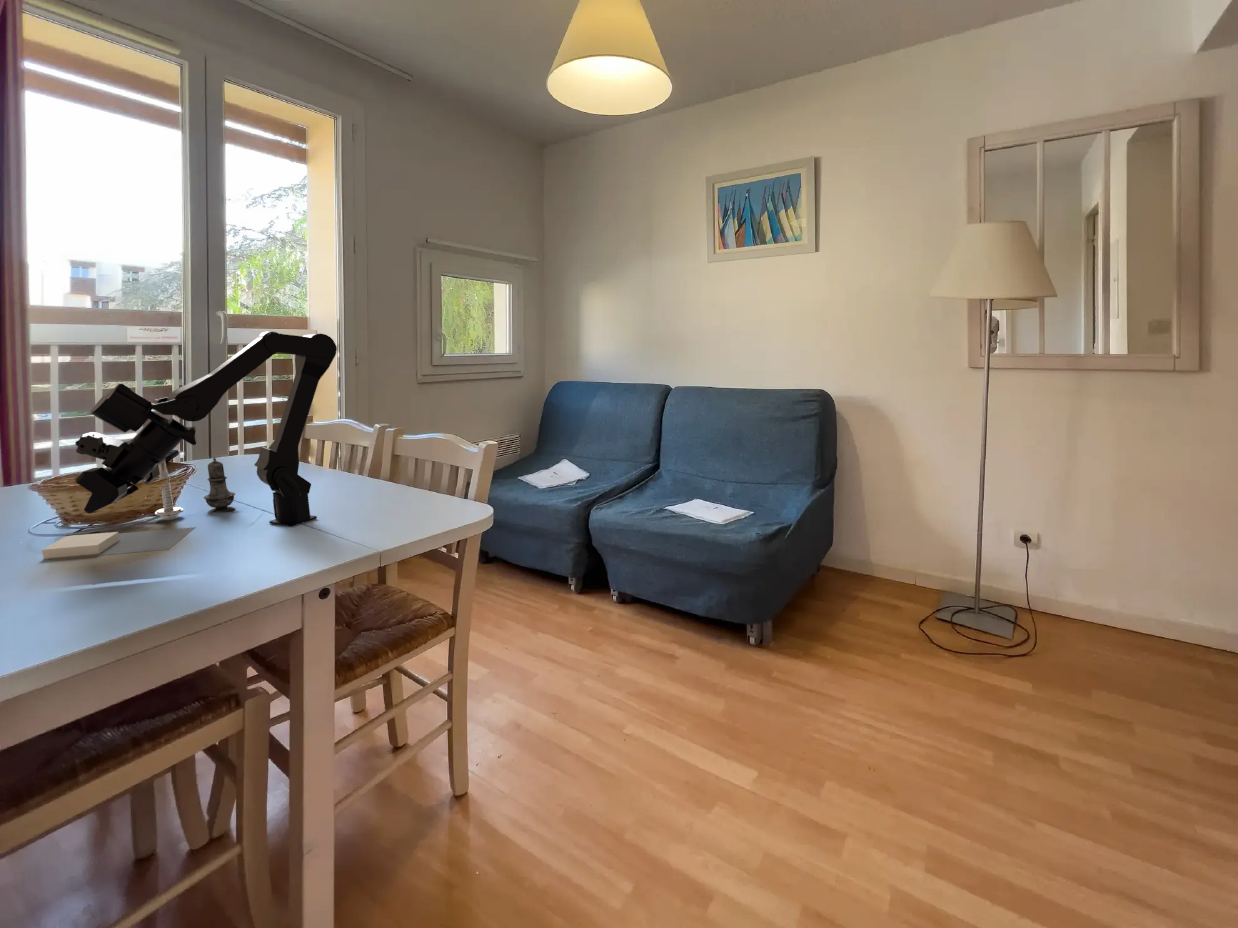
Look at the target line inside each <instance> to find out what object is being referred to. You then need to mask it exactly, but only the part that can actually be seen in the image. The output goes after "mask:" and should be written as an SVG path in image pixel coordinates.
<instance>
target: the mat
mask: <svg viewBox="0 0 1238 928" xmlns="http://www.w3.org/2000/svg"><path fill="white" fill-rule="evenodd" d="M196 528H197V527H195V526H194V527H182V528H169V529H159V530H145V531H133V532H132V531H130V532H121V533H119V532H118V533H119V539H120V540H119V541H118V542H116V543H115V544H113V545H112V546H110V547H109V548H107V549H106V550H104V551H103V552H101V553H99V554H91V555H80V556H69V557H57V558H47V561H54V560H56V559H57V560H65V559H67V560H68V559H76V558H78V559H80V558H89V557H99V556H100V557H102V556H111V555H113V556H114V555H121V554H122V555H123V554H133V553H135V554H136V553H143V552H144V553H145V552H157V551H169V550H170V549H172V548H173V547H174V546H175V545H177V544H178V543H179V542H180V541H182V540H183V539H184V538H185V537H187V535H189V534H190V533H191V532H192V531H193V530H195V529H196Z"/></svg>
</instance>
